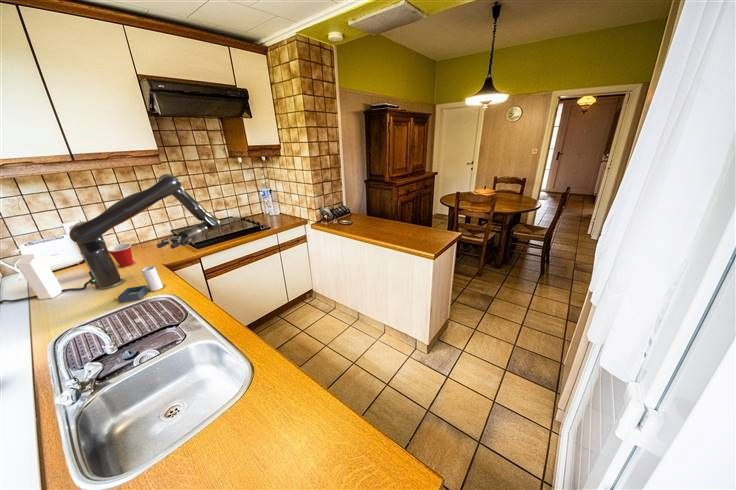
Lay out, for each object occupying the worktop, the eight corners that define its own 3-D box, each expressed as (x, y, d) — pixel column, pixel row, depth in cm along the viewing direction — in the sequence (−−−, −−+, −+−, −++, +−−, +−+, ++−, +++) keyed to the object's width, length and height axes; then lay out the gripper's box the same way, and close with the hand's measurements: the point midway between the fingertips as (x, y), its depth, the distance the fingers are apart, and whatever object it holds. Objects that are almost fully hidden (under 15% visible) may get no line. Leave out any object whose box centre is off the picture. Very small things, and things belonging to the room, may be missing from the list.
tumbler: (148, 292, 127) (139, 272, 123) (153, 286, 132) (144, 267, 128) (160, 290, 128) (151, 270, 124) (165, 284, 133) (156, 265, 129)
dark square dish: (120, 302, 120) (117, 297, 119) (129, 293, 127) (127, 288, 126) (140, 299, 122) (137, 293, 120) (148, 290, 129) (146, 285, 127)
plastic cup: (125, 269, 152) (116, 250, 147) (110, 268, 154) (101, 249, 149) (143, 261, 161) (135, 243, 157) (129, 260, 164) (121, 242, 159)
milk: (52, 298, 127) (26, 257, 118) (38, 299, 127) (11, 258, 118) (64, 291, 133) (40, 251, 124) (51, 292, 132) (26, 252, 123)
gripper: (177, 228, 148) (150, 239, 133) (198, 228, 145) (173, 240, 130) (182, 240, 151) (155, 253, 136) (203, 241, 148) (178, 254, 133)
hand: (164, 246), depth 133 cm, fingers open, 8 cm apart
